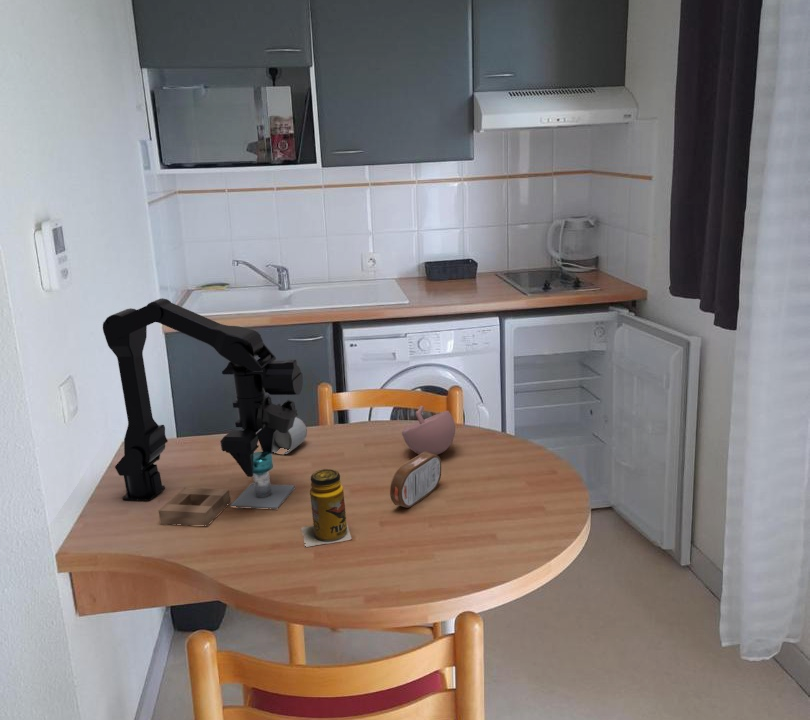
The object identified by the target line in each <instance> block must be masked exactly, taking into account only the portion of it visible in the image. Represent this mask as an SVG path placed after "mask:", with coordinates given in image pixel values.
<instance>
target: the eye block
mask: <svg viewBox="0 0 810 720" xmlns="http://www.w3.org/2000/svg"><path fill="white" fill-rule="evenodd" d="M230 502H231V496H230V489H223V488H221V489H220V488H219V489H218V488H202V487H200V488H199V487H198V488H197V487H183V488H182V489H181V490H180V491H179V492H177V494H175V495H174V496H173V497H172V498H171V499H170V500H168V501H167V502H166V503H165V504H164V505H162V507H160V509H158V516H159V517H158V518H159V522H160V525H163V524H164V526H165V524H169V525H168V526H171V525H170V524H176V525H175V526H178V525H177V524H181V525H204V526H205V525H206V526H208V525H209V523H210V522H211V521H212V520H213V519H214V518H215V517H216V516H217V515H218V514H219V513H220V512H221V511H222V510H223V509H224V508H225V507H226V506H227V504H229V503H230ZM231 503H232V502H231ZM231 503H230V504H231ZM230 504H229V505H230ZM227 507H228V506H227ZM227 507H226V508H227ZM209 526H210V525H209ZM209 526H208V527H209Z"/></svg>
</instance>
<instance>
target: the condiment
mask: <svg viewBox="0 0 810 720" xmlns="http://www.w3.org/2000/svg"><path fill="white" fill-rule="evenodd" d="M310 482H311V483H310V486H311V488H310V491H309V496H310V504H311V514H312V515H311V517H312V523H313V525H309V526H307V525H306V526H302V527H300V528H301V533H302V537H303V536H304V537H305V538H304V539H303V544H304V543H306V544H304V547H305V546H306V547H305V548H309V547H315V546H321V545H327V544H333V543H339V542H341V543H342V542H344V541H345V542H347V541H350V540H352V539H353V538H352V535H351V533H350V529H349V525H348V523H347V522H348V521H347V513H346V504H345V495H344V487H343V485H342V484H341V475H340V473H339V471H337V470H335V469H330V468H329V469H328V468H324V469H319V470H317V471H314V473H312V474H311V476H310ZM303 534H304V535H303ZM316 542H317V543H316Z"/></svg>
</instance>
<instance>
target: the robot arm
mask: <svg viewBox="0 0 810 720" xmlns="http://www.w3.org/2000/svg"><path fill="white" fill-rule="evenodd" d="M154 323H157V324H158V323H159V324H161V325H163V326H164V327H165V326H166V327H168V328H169V329H172V330H175V331H176V332H179V333H181V334H184V335H186V336H188V337H191V338H192V339H195V340H197V341H200V342H201V343H204V344H207V345H208V346H210V347H212V348H213V349H214V350H215V351H216V352H217V354H218V355H220V356H221V357H222V358H224V359H226V360H227V361H228V363H227V365H226V367H225V368H224V369H223V370H222V371H221V374H222V375H224V376H225V375H228V376H229V375H232V379H233V385H234V391H235V393H234V394H235V399H236V400H234V401H233V402H232V407H233V409H235V408H236V409H237V416H238V420H236V421H235V428H241V429H242V430H230V431H229V432H228V433H227V434H225V435H224V436H223V437H222V439H221V440H220V448H221V451H222V452H225V453H228V454H230V455H231V456H232V458H233V459H234V460H235V461H236V464H238V465H239V468H241V470H242V471H243V472H244V474H245V475H246V476H247V477H248V478H252V477H253V453H255V452H256V450H257V449H258V448H259V447H260V448H261V450H262V452H269V453H271V454H272V455H273V452H272V451H273V445H274V439H275V434H276V431H277V430H278V431H279V432H281V433H287V432H288V431H289V429H290V428H292V427H293V424H294V420H295V418H296V417H297V418H298V415H299V413H298V412H297V411H298V409H296V405H295V404H296V403H295V401H293V400H291V399H287V400H285V402H283V404H282V405H281V403H278V404H275V403H273V402H272V397H270V395H271V396H284V395H285V396H289V395H290V396H299V395H300V394H301V393H302V390H303V385H304V384H303V381H304V377H303V372H302V370H301V368H300V367H299V365H298V364H297V363H298V361H297V359H288V360H287V359H286V360H276V359H277V358H276V356H275V355H274V353H272V351H271V350H270V349H269V348H268V347H267V345H266V344H265V343H264V341H263V338H262V335H261V334H260V333H259V332H258V331H256V330H253V329H251V328H250V329H249V328H247V327H243V326H238V325H227V324H226V325H225V324H222V323H219V322H217V321H214V320H212V319H210V318H208V317H205V316H203V315H201V314H198V313H197V312H193V311H191V310H189V309H187V308H185V307H182V306H180V305H178V304H176V303H173V302H171V300H169V299H167V298H158V299H156V300H153V301H151V302H148V303H147V305H144V306H142V307H139V308H138V309H136V308H126V309H124V310H121V311H119V312H117V313H114V314H111V315H109V316H108V317H106V319H105V320H104V321H103V322H102V331H103V334H104V339H105V341H106V344H107V347H108V348H109V349H110V350H111V351H112V353H113V354H114V355H115V356H116V359H117V365H118V370H119V376H120V382H121V387H122V388H121V389H122V393H123V400H124V405H125V413H126V418H127V428H126V432H125V435H124V440H123V453H124V455H123V456H122V457H121V459H119V461H118V462H117V464H116V465H115V466H114V469H115V470H116V472H117V474H118V475H119V476H120V477H121V476H122V477H123V480H124V485H125V490H126V494H125V495H124V496H123V497H122V499H123V501H124V500H125V501H142V502H150V501H151V500H153V499H154V498H155V497H157V496H158V495H159V494H160V493H161V492H163V491H164V490H165V489H166V485H163V484H162V479H161V478H162V477H161V472H159V469H158V465H157V464H155V463H156V462H157V461H159V460H160V458H161V455H162V453H163V452H164V450H165V449H166V444H167V443H168V442H169V441H168V439H167V436H166V426H165V425H164V424H160V425H159V424H158V423H157V422H156V421H155V419H154V418H153V412H152V406H151V399H150V394H149V386H148V381H147V374H146V367H145V362H144V355H143V351H144V348H145V344H146V341H147V333H148V332H147V331H148V330H147V329H148V328H147V327H148V326H149V325H152V324H154ZM257 357H258V359H257V360H256V358H257ZM267 394H268V395H267ZM258 443H259V444H260V445H259V444H258Z"/></svg>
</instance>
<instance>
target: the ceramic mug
mask: <svg viewBox="0 0 810 720" xmlns="http://www.w3.org/2000/svg"><path fill="white" fill-rule="evenodd" d="M307 435H308V429H307V425H306V423H305V422H304V421H303V420H302V419H301V418H299V417H298V416H297V417H296V418H295V420H294V424H293V427H292V428H290V429H289V431H288V432H287V433H281V432H279V431H278V430H277V431H276V434H275V439H274V445H273V451H272V453H273V452H274V453H273V454H275V452H277V451H278V450H279V449H280V448H284V449H287V450H289V449H290V450H289V451H287V452H285V453H284V454H286V455H287V454H289V453H291V452H292V451H293V450H295V449H296V448H297V447H298V446H300V445H301V444H302V443H303V442H305V440H306V438H307Z"/></svg>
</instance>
